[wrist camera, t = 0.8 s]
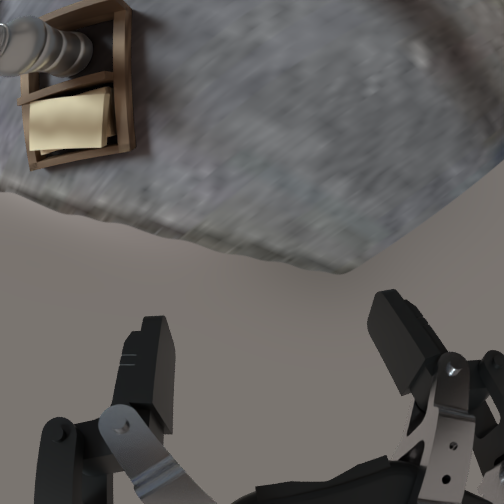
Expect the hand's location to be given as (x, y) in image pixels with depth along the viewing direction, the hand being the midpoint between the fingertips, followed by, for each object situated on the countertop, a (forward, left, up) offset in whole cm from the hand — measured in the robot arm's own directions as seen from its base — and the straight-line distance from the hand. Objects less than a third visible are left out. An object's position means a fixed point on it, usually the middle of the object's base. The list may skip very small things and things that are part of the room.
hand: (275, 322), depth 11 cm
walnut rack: (-12, -20, -31) cm, 39 cm away
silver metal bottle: (-17, -20, -31) cm, 41 cm away
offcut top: (-7, -20, -28) cm, 35 cm away
